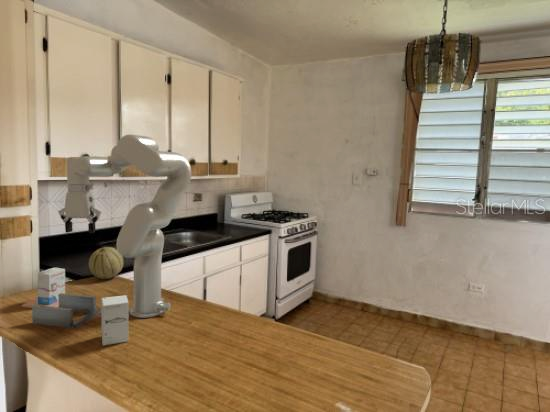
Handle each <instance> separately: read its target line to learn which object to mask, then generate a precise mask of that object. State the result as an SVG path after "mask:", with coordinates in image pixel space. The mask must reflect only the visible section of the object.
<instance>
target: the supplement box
mask: <svg viewBox="0 0 550 412" xmlns="http://www.w3.org/2000/svg"><path fill="white" fill-rule="evenodd" d="M100 301H101V302H100V306H101V308H100V309H101V313H100V315H101V329H100V330H101V340H102V341H101V343H102V346H103V347H105V346H109V345H113V344H120V343H126V342H129V337H130V336H129V333H130V332H129V330H130V329H129V317H130V316H129V315H130V314H129V309H130V308H129V305H130V304H129V300H128V295H126V294H125V295H118V296H117V295H115V296H107V297H106V296H105V297H101V299H100Z"/></svg>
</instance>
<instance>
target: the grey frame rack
mask: <svg viewBox="0 0 550 412" xmlns="http://www.w3.org/2000/svg"><path fill="white" fill-rule="evenodd" d="M58 296H59V307H51V306H42V305H33V306H32V308H31V310H32V311H31V313H32V315H31V316H32V324H34V325H42V326H43V325H44V326H50V327H51V326H52V327H59V328H68V329H69V328H70V329H78V328H79V327H81V326H82V325H84V324H85V323H87V322H88V321H90V320H91V319H94V318H96V316H99V315H101V308H97V300H96V299H97V297H96V296H93V295H86V294H85V295H83V294H75V293H74V294H73V293H66V292H65V293H60V294H58ZM74 313H83V314H86V315H84V316H83V317H81V318H80V319H78V320H76V321H74Z"/></svg>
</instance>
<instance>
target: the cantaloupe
mask: <svg viewBox="0 0 550 412" xmlns="http://www.w3.org/2000/svg"><path fill="white" fill-rule="evenodd" d="M123 267H124V257H123V256H121V255H120V254H119V252H118V250H117V248H115V247H111V246H104V247H100V248H98V249H96V250H95V251H94V252H93V253H92V254H91V255H90V257H89V259H88V268H89V271H90V273H91V274H92V275H93V276H94V277H96V278H98V279H101V280H106V279H112V278H113V277H116V276H118V274H119V273H121V272H122V269H123Z"/></svg>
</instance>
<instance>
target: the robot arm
mask: <svg viewBox="0 0 550 412" xmlns="http://www.w3.org/2000/svg"><path fill="white" fill-rule="evenodd" d="M129 167H135V169H137V170H139V171H140V172H142V173H143V174H145V175H146V176H149V177H154V178H163V177H164V178H165V177H166V179H165V180H164V181H163V182H162V184H160V186H159V187H158V189H157V191H156V193H155V195H154V197H153V198H152V200H151V201H149V202H142V203H138V204H136V205H135V206H134V207H132V208H131V209H130V210H129V212H128V214H127V215H126V218H125V220H124V223H123V225H122V226H121V228H120V231H119V233H118V236H117V238H116V250H118V252H119V254H120V255H121V256H122V257H123V258H126V259H132V258H133V259H134V262H133V305H132V306H131V307H130V308H129V315H130V316H132V317H134V318H138V319H139V318H141V319H142V318H143V319H146V318H147V319H149V318H154V317H158V316H160V315H162V314H163V313H165V311H170V310H171V307H172V305H171V302H165V299H164V297H162V258H163V250H164V246H165V245H164V244H165V235H164V233H163V231H162V230H161V229H163V228H166V227H167V226H169V224H170V223H171V221H172V220H173V217H174V215H175V213H176V211H177V209H178V207H179V205H180V203H181V201H182V198H183V196H184V195H185V193H186V191H187V189H188V187H189V185H190V183H191V180H192V167H191V164H190V162H189V160H188V158H186V156H185V155H182V153H179V152H175V151H174V152H173V151H164V150H162V151H161V150H160V149H159V144H158V142H157V141H156V140H155V139H154V138H152V137H150V136H146V135H137V134H126V135H123V136H122V137H120V138H119V139H118V142H117V145H115V146H114V147H113V148H112V149H111V153H110V155H109V156H108V155H107V156H93V155H92V156H90V155H88V156H87V155H84V156H69V157H67V159H66V178H67V181H66V182H67V192H66V195H65V200H64V201H65V202H64V207H63V208H61V209H60V210H58V212H57V213H58V214H59V216H60V218H61V220H62V222H64V229H65V233H66V234H67V233H71V232H73V222H72V220H73V219H86V220H88V222H89V223H88V225H87V226H88V234H94V233H96V223H97V221H99V219H100V217H101V214H102V211H100V210H99V209H97V208H96V207H95V206H96V205H95V199H94V196H93V193H92V192H90V191H91V190H93V187H92V185H90V177H109V176H113V175H117V174H120V173H123V172H124V171H126V170H127V169H128V168H129Z"/></svg>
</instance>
